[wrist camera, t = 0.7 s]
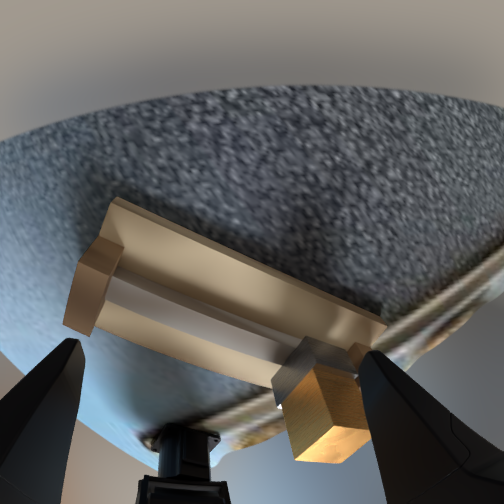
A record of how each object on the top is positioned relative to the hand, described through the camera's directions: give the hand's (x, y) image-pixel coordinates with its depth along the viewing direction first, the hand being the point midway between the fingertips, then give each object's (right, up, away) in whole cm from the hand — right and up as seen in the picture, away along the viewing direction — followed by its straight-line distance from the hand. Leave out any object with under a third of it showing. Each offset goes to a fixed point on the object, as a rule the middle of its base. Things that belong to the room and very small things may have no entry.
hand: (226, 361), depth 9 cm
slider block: (+5, -6, +15) cm, 17 cm away
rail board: (0, -2, +16) cm, 17 cm away
